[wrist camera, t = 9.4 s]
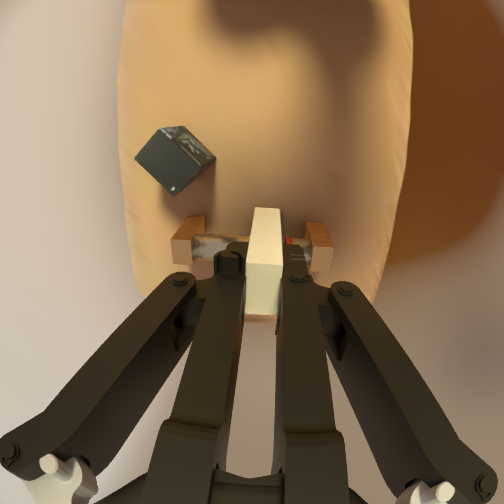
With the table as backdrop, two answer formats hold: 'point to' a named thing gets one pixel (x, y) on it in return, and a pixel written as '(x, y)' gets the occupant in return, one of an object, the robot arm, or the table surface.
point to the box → (174, 158)
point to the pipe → (207, 245)
